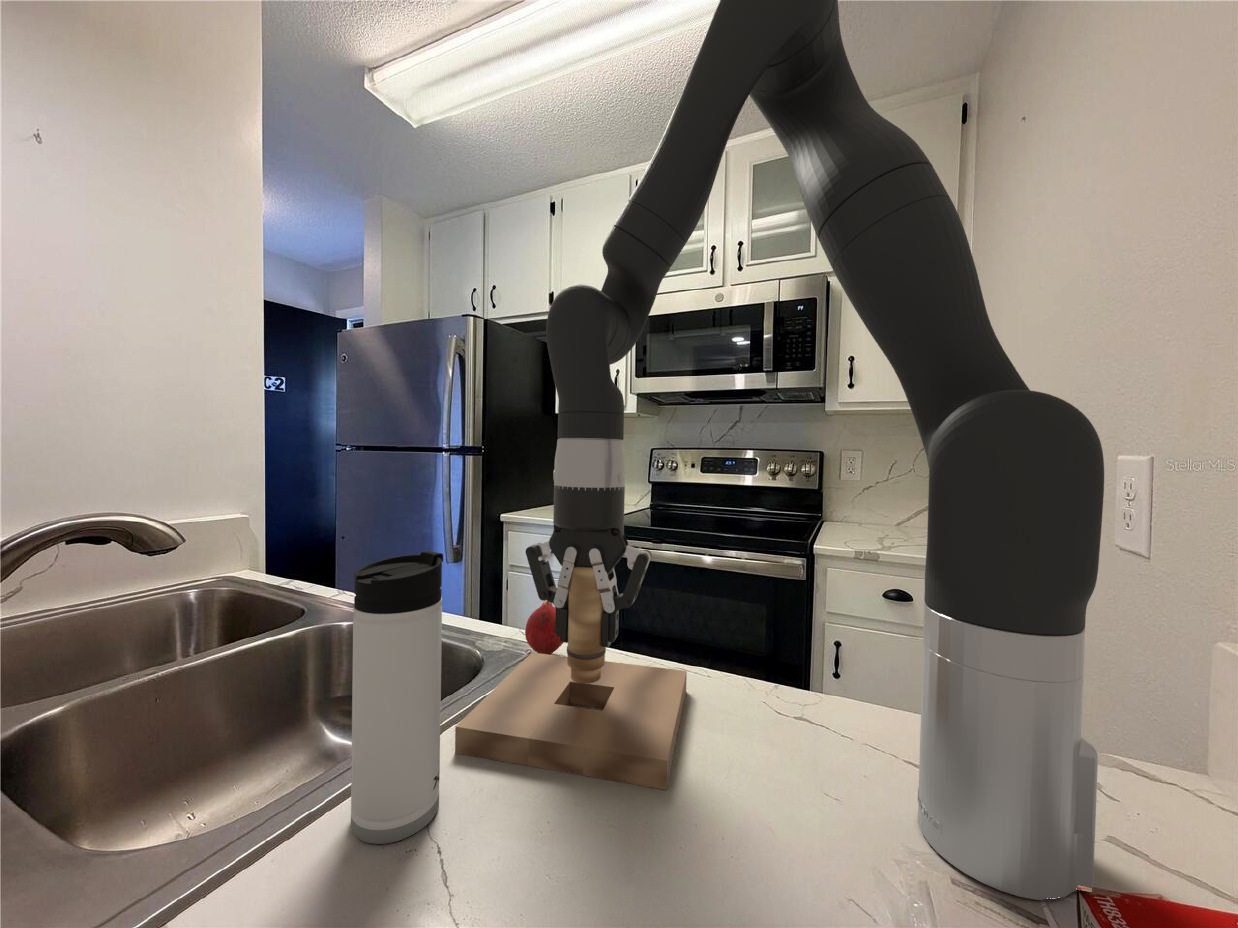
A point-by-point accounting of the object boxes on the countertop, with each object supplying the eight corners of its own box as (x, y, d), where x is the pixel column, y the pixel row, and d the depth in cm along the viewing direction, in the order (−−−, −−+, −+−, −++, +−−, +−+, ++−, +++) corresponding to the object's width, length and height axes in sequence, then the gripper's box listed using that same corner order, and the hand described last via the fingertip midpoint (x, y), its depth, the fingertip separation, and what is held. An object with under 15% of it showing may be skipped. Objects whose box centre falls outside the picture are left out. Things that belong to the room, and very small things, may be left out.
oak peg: (609, 670, 54) (611, 562, 54) (599, 687, 50) (601, 570, 50) (573, 666, 55) (575, 559, 55) (560, 682, 51) (563, 567, 51)
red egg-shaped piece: (558, 667, 65) (559, 607, 65) (518, 662, 66) (519, 604, 66) (571, 650, 71) (572, 595, 71) (534, 646, 72) (535, 592, 72)
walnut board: (686, 691, 59) (686, 670, 59) (666, 789, 42) (667, 760, 41) (531, 671, 64) (531, 652, 64) (455, 752, 46) (455, 726, 46)
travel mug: (459, 804, 39) (463, 556, 39) (381, 860, 34) (385, 572, 33) (411, 775, 43) (414, 547, 42) (333, 822, 37) (336, 559, 37)
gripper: (660, 482, 54) (657, 636, 55) (540, 478, 57) (537, 624, 58) (649, 486, 47) (645, 664, 47) (512, 481, 50) (509, 648, 50)
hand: (586, 641), depth 52 cm, fingers closed on oak peg, 4 cm apart
